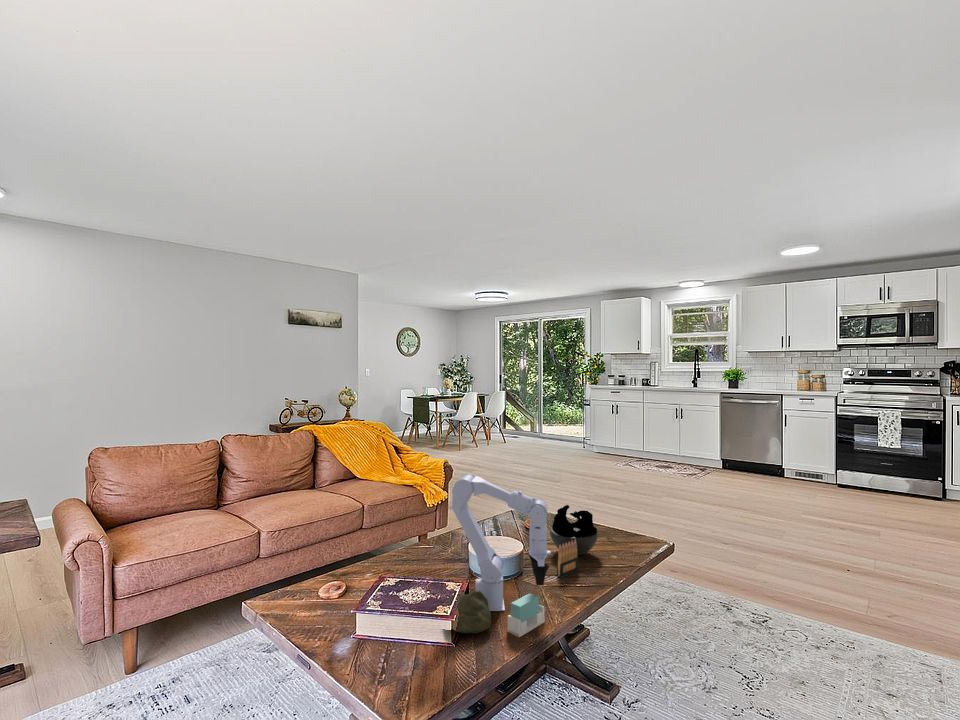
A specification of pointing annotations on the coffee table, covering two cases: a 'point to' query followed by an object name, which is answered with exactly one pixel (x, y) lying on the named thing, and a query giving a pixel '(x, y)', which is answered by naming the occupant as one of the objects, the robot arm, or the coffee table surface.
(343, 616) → the coffee table surface
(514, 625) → the stand
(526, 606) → the teal block
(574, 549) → the ammunition clip
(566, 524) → the coal bowl
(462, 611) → the decorative rock
